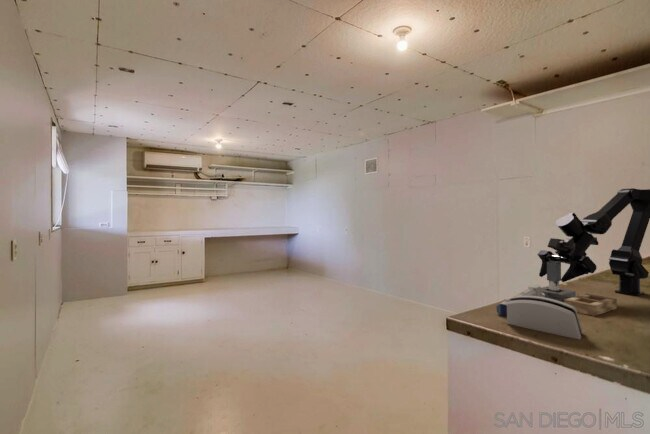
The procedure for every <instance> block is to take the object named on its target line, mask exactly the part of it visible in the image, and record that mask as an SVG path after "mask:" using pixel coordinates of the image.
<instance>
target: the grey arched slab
mask: <svg viewBox="0 0 650 434" xmlns="http://www.w3.org/2000/svg"><path fill="white" fill-rule="evenodd" d="M514 296H515V295H514ZM511 297H512V298H511ZM511 297H510V298H511V299H510V300H509V302H508V303H507V316H506V324H507V325H511V326H516V327H519V328H525V329H529V330H533V331H539V332H544V333H548V334H551V335H556V336H561V337H566V338H571V339H575V340H581V338H582V335H583V327H582V325H581V322H580V318H579V315H578V312H577V310H576V308H575V307H573V306H571V305H569V304H566V303H563V302H561V301H557V300H554V299H550V298H545V297H539V296H515V297H513V296H511Z"/></svg>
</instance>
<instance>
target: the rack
mask: <svg viewBox="0 0 650 434" xmlns="http://www.w3.org/2000/svg"><path fill="white" fill-rule="evenodd" d="M564 303H566V304H569V305H571V306H573V307H575V308H576V310H577V313H580V314H584V315H587V316H593V317H596V316H599V315H602V314H604V313H607V312H610V311H613V310H616V309H617V310H618V304H617V303H618V299H617V298H615V297H608V296H603V295H596V294H592V293H584V294H580V295H576V297H572V298H569V299H565V300H564Z"/></svg>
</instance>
